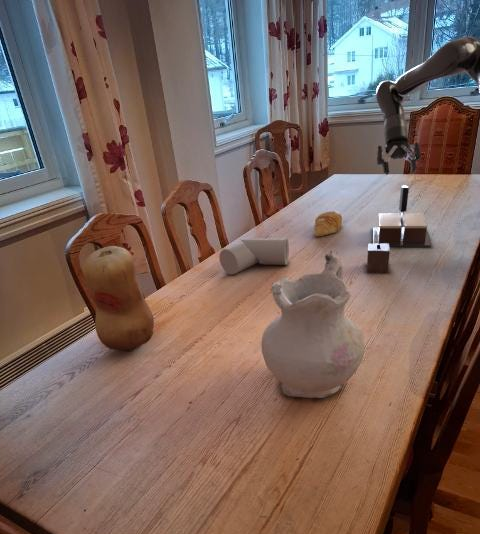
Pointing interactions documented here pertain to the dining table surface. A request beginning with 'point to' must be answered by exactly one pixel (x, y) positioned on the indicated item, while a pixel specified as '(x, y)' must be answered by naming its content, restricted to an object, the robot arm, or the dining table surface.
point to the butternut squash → (118, 299)
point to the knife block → (378, 258)
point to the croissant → (327, 223)
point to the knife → (403, 203)
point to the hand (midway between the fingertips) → (400, 172)
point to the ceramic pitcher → (313, 334)
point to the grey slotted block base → (411, 230)
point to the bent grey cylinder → (254, 254)
